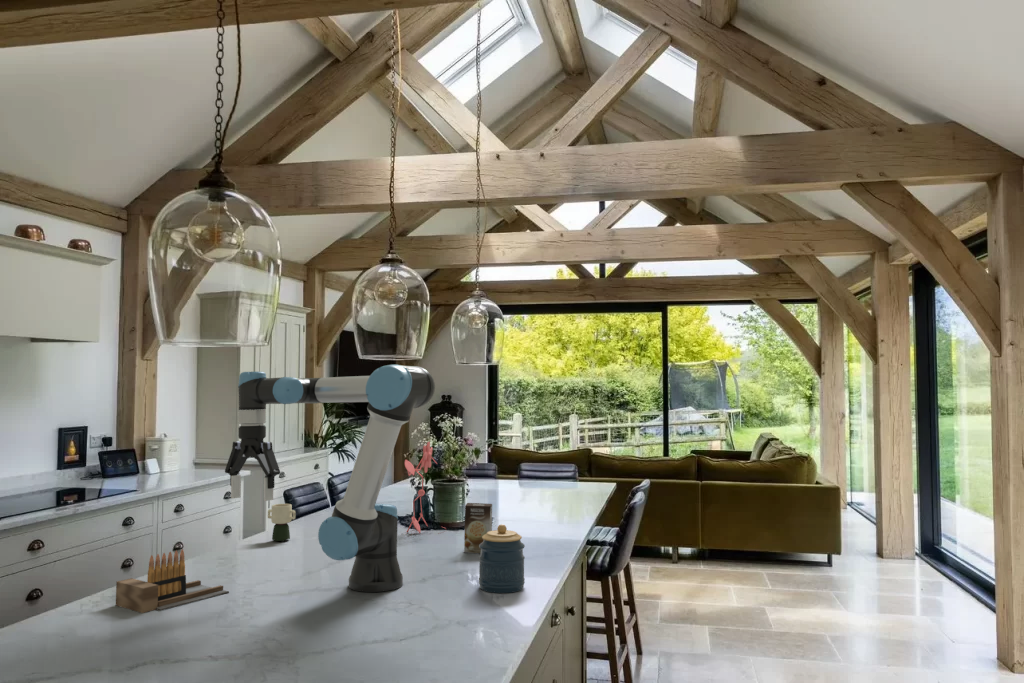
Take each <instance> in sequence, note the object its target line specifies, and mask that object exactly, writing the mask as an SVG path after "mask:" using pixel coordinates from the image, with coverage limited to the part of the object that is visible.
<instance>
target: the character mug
mask: <svg viewBox="0 0 1024 683" xmlns="http://www.w3.org/2000/svg"><path fill="white" fill-rule="evenodd" d="M292 506H293V505H292V504H291V503H275V504H272V505H271V508H270V509H268V510H267V519H270V520H271V523H272V524H275V525H273V530H272V535H271V536H272V537H271V540H272V541H276V542H280V541H283V542H285V541H287V540H289V539H291V535H290V534H291V533H290V526H289V524H288V523H291V522H292V520H296V512H297V511H296V509H295V510H294V509H292V508H293V507H292Z"/></svg>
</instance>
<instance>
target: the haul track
mask: <svg viewBox="0 0 1024 683" xmlns="http://www.w3.org/2000/svg"><path fill="white" fill-rule="evenodd" d="M201 583H202V580H199V579H198V580H193V581H188V582H186V594H184V595H180V596H176V597H172V598H168V599H164V600H160V601H158V585H157V584H153V583H149V582H147V581H144V580H139V579H135V578H133V577H131V578H127V579H122V580H118V581H116V583H115V585H116V586H115V587H116V589H115V606H117V607H121V608H124V609H128V610H130V611H134V612H137V613H141V614H143V613H147V612H152V611H156V610H157V611H158V612H159V611H160V612H162V611H165V610H168V609H172V608H176V607H181V606H184V605H188V604H191V603H196V602H199V601H203V600H206V599H210V598H214V597H218V596H221V595H226V594H229V590H225V589H224V586H223V585H216V586H207V585H204V584H201Z"/></svg>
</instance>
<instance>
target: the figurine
mask: <svg viewBox="0 0 1024 683" xmlns="http://www.w3.org/2000/svg"><path fill="white" fill-rule="evenodd" d="M422 452H423V454H422V458H421V459H420V461H419V463H418V464H417V466H416V467H415V466H414V465H413V463H412V462H410V461H409V460H408V459H405V460H404V467H405V469H406V470H407V475H408V476H409V477H410V476H411V475H412V476H413V477H414V476H415V472H416V473H417V474H418V475H419V476H420V477H421V489H419V490H418V491H417V494H418V496H417V497H416V498H415V499H414V500H413V501H412V502H413V503H412V504H413V507H412V508H413V516H411V522H410V525H409V526H408V528H407V530H406V533H409V532H410V529H411V526H412V525H413V528H414V529H415V530H416V531H417V532H418V533H419V534H421V526H420V524H419V522H420V520H421V519H422V521H423V522H424V524H425V525H426V527H427V528H429V526H428V525H429V524H428V523H427V522H426V520H425V518H424V515H423V508H422V507H423V506H422V497H423V496H425V494H426V492H425V490H424V476H423V475H422V474H421V473H420V472H421V470H422V469H423V468H424V469H423V470H424V471H423V472H424V474H426V473H428V471H429V470H428V468H429V469H431V468H432V460H433V462H434V463H435V464H436V465H438V462H437V461H436V460H435V459H434V457H433V456H432V455H433V446H431V442H430V441H428V442H427V443H426V445H423V448H422ZM418 468H419V469H418ZM419 471H420V472H419ZM418 499H419V501H420V511H421V512H420V513H419V515H420V516H419V517H418V518H416V517H415V501H417V500H418ZM417 519H418V520H417ZM442 528H444V529H445V531H442V532H441V534H442V533H444V532H446V530H447V528H446V527H443V526H442ZM437 534H438V535H439V534H440V532H438V533H437ZM402 535H404V533H402Z"/></svg>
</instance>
